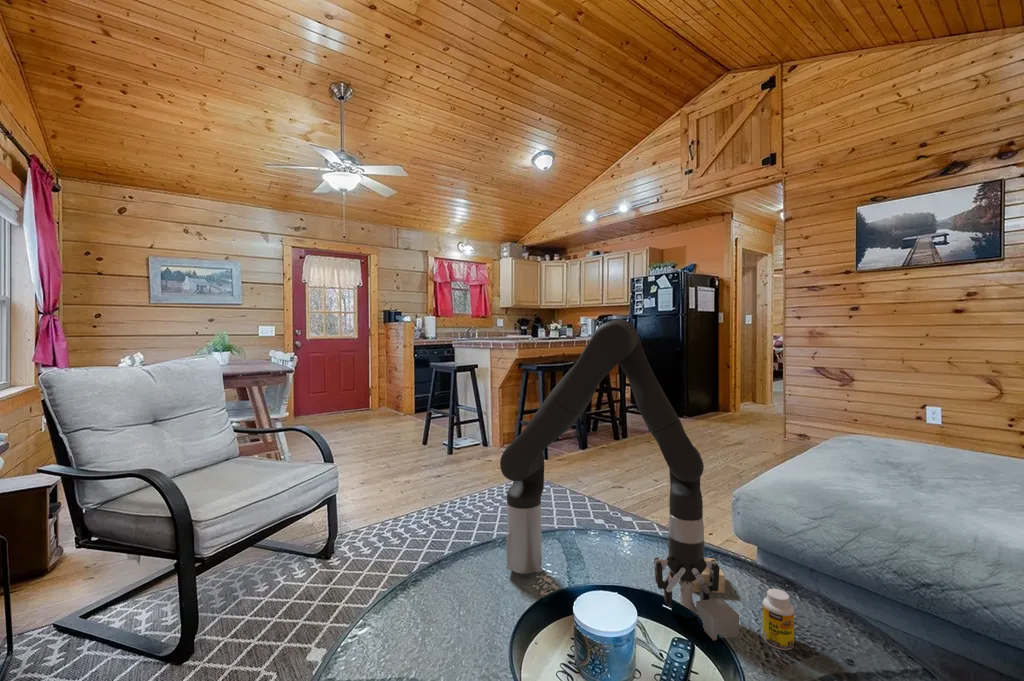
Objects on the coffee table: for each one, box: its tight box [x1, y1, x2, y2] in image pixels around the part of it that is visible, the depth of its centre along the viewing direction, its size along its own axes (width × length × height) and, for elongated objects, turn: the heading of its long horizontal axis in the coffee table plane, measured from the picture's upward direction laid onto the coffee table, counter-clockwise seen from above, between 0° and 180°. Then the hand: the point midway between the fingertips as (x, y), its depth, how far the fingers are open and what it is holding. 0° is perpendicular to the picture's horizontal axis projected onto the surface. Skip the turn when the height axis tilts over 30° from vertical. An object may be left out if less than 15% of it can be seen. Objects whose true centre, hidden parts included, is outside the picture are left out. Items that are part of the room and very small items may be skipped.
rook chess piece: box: [677, 580, 696, 612], centre depth 101 cm, size 4×4×8 cm
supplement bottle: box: [762, 588, 795, 651], centre depth 92 cm, size 6×6×10 cm
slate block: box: [695, 597, 740, 641], centre depth 96 cm, size 6×6×5 cm
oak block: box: [692, 557, 726, 594], centre depth 113 cm, size 8×8×5 cm
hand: (686, 606), depth 101 cm, fingers open, 7 cm apart
